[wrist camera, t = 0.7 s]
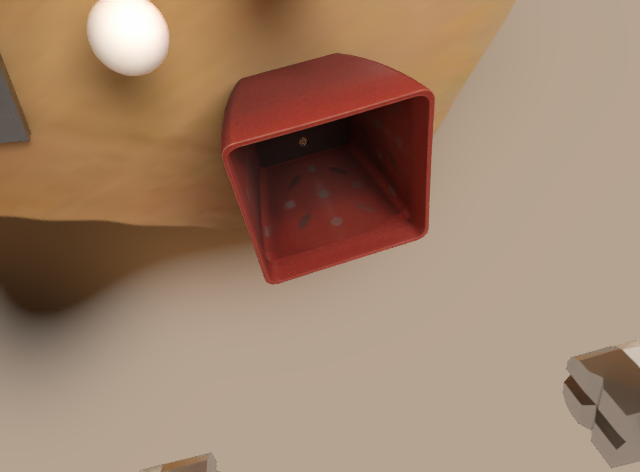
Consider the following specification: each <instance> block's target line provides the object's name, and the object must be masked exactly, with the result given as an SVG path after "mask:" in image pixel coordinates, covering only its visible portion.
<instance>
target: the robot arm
mask: <svg viewBox="0 0 640 472" xmlns="http://www.w3.org/2000/svg"><path fill="white" fill-rule="evenodd" d="M566 369H567V370H568V372H569V373H570V374H571V375H570V376H569V377H568V378H567V379H566V381H565V382H564V387H563V394H564V398H565V402H566V405H567V407H568V408H569V411H570V412H571V414H572V415H573V417H574V418H575V420H576V421H577V422H578V423H579V424H581V425H582V426H584V427H586V428H588V429H590V430H591V441H592V443H593V444H594V446H595V447H596V448H597V450H598V451H599V452H600V453H601V455H602V456H603V458H604V459H605V460H606V462H607V463H608V464H609V466H610V467H611V468H614V467H618V466H622V465H626V464H630V463H634V462H638V461H640V342H638V341H631V342H627V343H624V344H620V345H617V346H614V347H607V348H603V349H600V350H596V351H593V352H589V353H586V354H582V355H578V356H575V357H571V359H569V360H568V362H567V368H566ZM140 472H219V471H217V470H216V460H215V458H214V456H213V454H212V453H208V454H203V455H200V456H195V457H191V458H188V459H183V460H180V461H175V462H171V463H167V464H162V465H158V466H155V467H151V468H147V469H143V470H140Z"/></svg>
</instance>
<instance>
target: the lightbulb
mask: <svg viewBox="0 0 640 472" xmlns="http://www.w3.org/2000/svg"><path fill="white" fill-rule="evenodd" d="M86 32H87V38H88V42H89V44H90V47H91V49H92V51H93V52H94V54H95V55H96V57H97V58H98V59H99V60H100V61H101V62H102V63H103V64H104V65H105V66H106V67H108V68H109V69H111V70H113V71H115V72H117V73H119V74H122V75H127V76H141V75H145V74H148V73H150V72H152V71H154V70H155V69H157V68H158V67H159V66H160V65H161V64H162V63H163V61H164V60H165V58H166V56H167V54H168V51H169V46H170V34H169V29H168V26H167V23H166V21H165V19H164V17H163V15H162V14H161V12H160V11H159V10H158V8H157V7H156V6H155V5H154V4H152V3H151V2H150V1H149V0H98V1H97V2H96V3H95V4H94V6H93V7H92V9H91V10H90V12H89V15H88V18H87V24H86Z"/></svg>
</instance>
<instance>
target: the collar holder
mask: <svg viewBox="0 0 640 472" xmlns="http://www.w3.org/2000/svg"><path fill="white" fill-rule="evenodd" d="M30 135H31V132H30V129H29V127H28V124H27V121H26V119H25V116H24V114H23V111H22V109H21V106H20V103H19V101H18V98H17V96H16V93H15V91H14V88H13V85H12V83H11V80H10V78H9V75H8V72H7V70H6V67H5V65H4V62H3V60H2V57H1V54H0V143H8V142H20V141H29V139H30Z"/></svg>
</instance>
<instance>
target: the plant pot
mask: <svg viewBox="0 0 640 472" xmlns="http://www.w3.org/2000/svg"><path fill="white" fill-rule="evenodd" d="M434 104H435V97H434V94H433V92H432V91H431V90H429V89H428V88H427V87H425V86H424V85H422V84H421V83H419V82H417V81H416V80H414V79H413V78H411V77H409V76H407V75H405V74H403V73H402V72H399V71H397V70H395V69H393V68H391V67H388V66H386V65H383V64H380V63H378V62H375V61H372V60H368V59H365V58H361V57H357V56H352V55H347V54H339V53H335V54H331V55H327V56H323V57H320V58H316V59H312V60H309V61H305V62H301V63H298V64H294V65H290V66H286V67H283V68H279V69H275V70H271V71H268V72H264V73H260V74H257V75H253V76H249V77H245V78H243V79H241V80H240V81H239V82H238V83H237V84H236V86H235V87H234V89H233V91H232V93H231V95H230V98H229V100H228V103H227V106H226V109H225V113H224V118H223V125H222V133H221V158H222V162H223V164H224V167H225V170H226V173H227V175H228V178H229V180H230V183H231V186H232V189H233V191H234V194H235V197H236V199H237V202H238V205H239V208H240V211H241V213H242V216H243V219H244V221H245V224H246V227H247V230H248V232H249V235H250V238H251V241H252V243H253V246H254V249H255V252H256V255H257V258H258V261H259V264H260V267H261V269H262V272H263V275H264V278H265V281H266V282H267V283H269V284H279V283H282V282H285V281H288V280H291V279H294V278H297V277H300V276H304V275H307V274H310V273H313V272H316V271H319V270H323V269H326V268H329V267H332V266H335V265H338V264H342V263H345V262H348V261H351V260H354V259H357V258H361V257H364V256H367V255H370V254H373V253H377V252H380V251H383V250H387V249H389V248H393V247H396V246H399V245H402V244H406V243H409V242H412V241H416V240H418V239H420V238H422V237H424V236H425V235H426V234H427V232H428V228H429V227H428V226H429V199H430V197H429V196H430V176H431V155H432V139H433V121H434ZM303 137H307V139H309V143H308V144H307V145H306V146H301V145H300V144H299V141H300V139H301V138H303Z"/></svg>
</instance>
